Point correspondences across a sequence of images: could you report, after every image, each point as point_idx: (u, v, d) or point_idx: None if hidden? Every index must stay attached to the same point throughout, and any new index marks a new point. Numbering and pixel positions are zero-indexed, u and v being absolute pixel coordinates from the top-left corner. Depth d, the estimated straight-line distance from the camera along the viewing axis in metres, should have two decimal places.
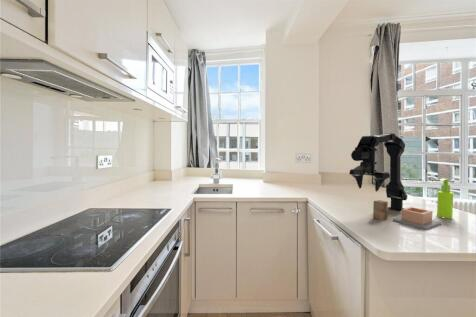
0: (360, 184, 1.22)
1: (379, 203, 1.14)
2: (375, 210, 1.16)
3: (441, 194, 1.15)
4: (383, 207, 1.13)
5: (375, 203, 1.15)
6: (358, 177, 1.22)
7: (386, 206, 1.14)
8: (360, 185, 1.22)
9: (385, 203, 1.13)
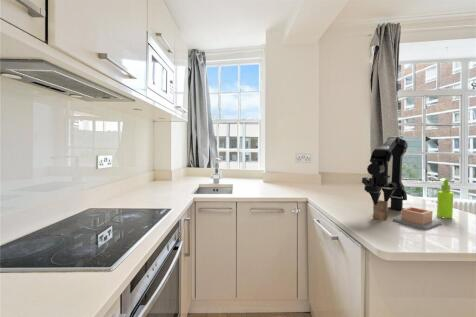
0: (385, 198, 1.17)
1: (379, 203, 1.14)
2: (375, 210, 1.16)
3: (441, 194, 1.15)
4: (383, 207, 1.13)
5: None
6: (384, 190, 1.18)
7: (386, 206, 1.14)
8: (385, 199, 1.17)
9: (385, 203, 1.13)
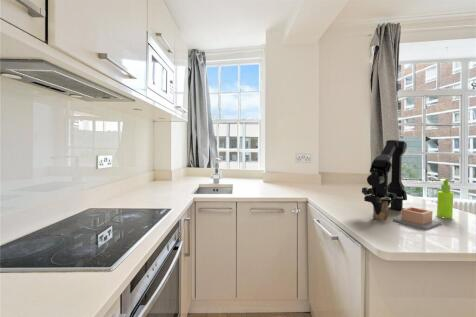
0: None
1: None
2: None
3: (441, 194, 1.15)
4: (383, 207, 1.13)
5: None
6: None
7: (386, 206, 1.14)
8: None
9: (385, 203, 1.13)
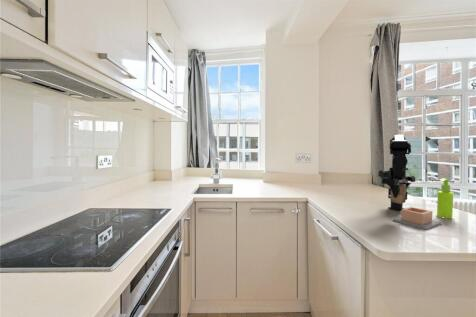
0: None
1: None
2: (392, 193, 1.12)
3: (441, 194, 1.15)
4: (401, 190, 1.09)
5: None
6: (399, 184, 1.14)
7: (404, 188, 1.10)
8: None
9: (403, 186, 1.10)
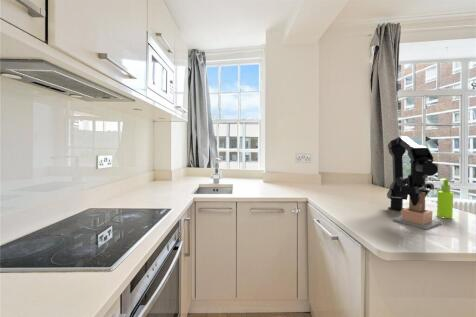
0: None
1: None
2: (411, 201, 1.09)
3: (441, 194, 1.15)
4: (421, 198, 1.06)
5: None
6: None
7: (424, 196, 1.07)
8: None
9: (423, 193, 1.07)
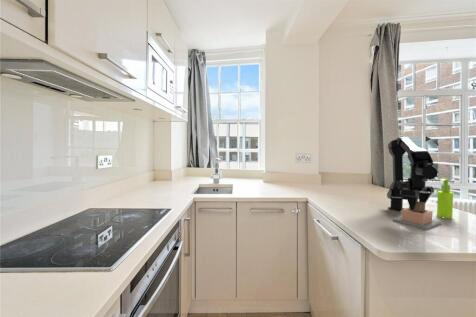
0: None
1: (416, 204, 1.07)
2: None
3: (441, 194, 1.15)
4: (421, 208, 1.06)
5: None
6: (420, 194, 1.12)
7: (424, 207, 1.08)
8: None
9: (422, 204, 1.07)
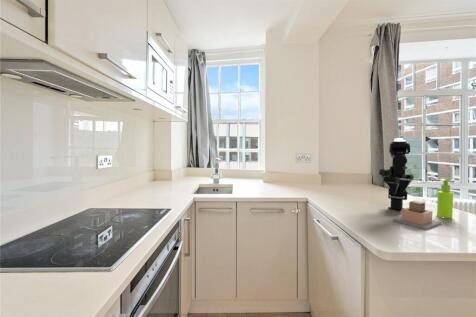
0: (402, 189, 1.21)
1: (416, 204, 1.07)
2: None
3: (441, 194, 1.15)
4: (421, 208, 1.06)
5: (411, 204, 1.09)
6: (401, 181, 1.21)
7: (424, 207, 1.08)
8: (402, 190, 1.21)
9: (422, 204, 1.07)
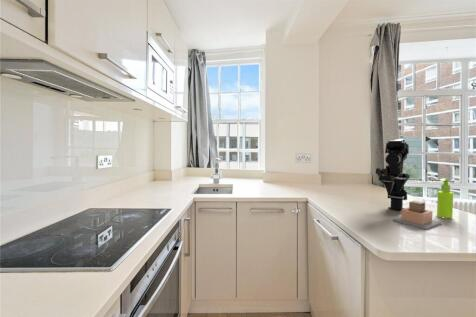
0: (398, 188, 1.23)
1: (416, 204, 1.07)
2: None
3: (441, 194, 1.15)
4: (421, 208, 1.06)
5: (411, 204, 1.09)
6: (397, 180, 1.23)
7: (424, 207, 1.08)
8: (398, 189, 1.23)
9: (422, 204, 1.07)
